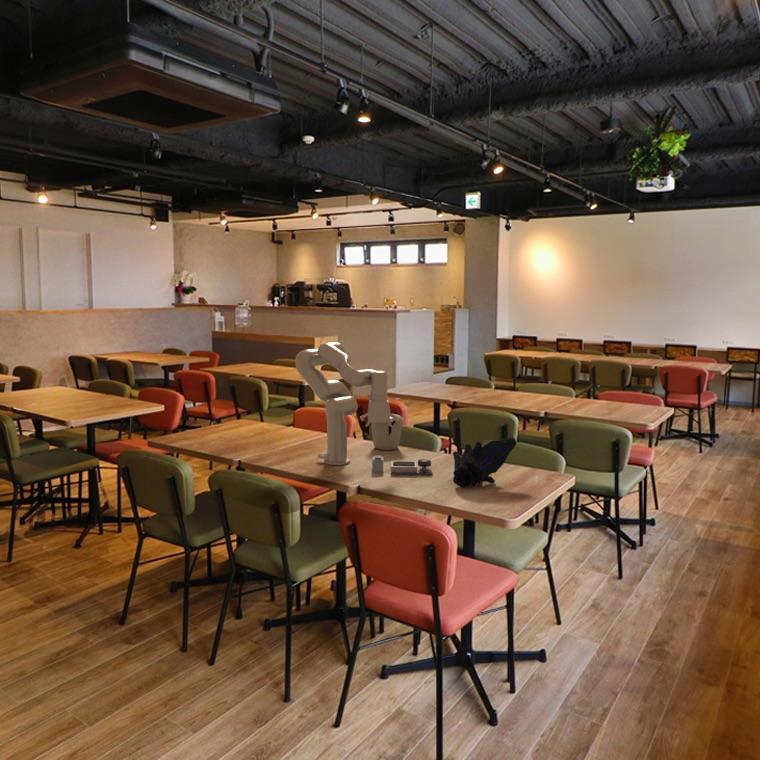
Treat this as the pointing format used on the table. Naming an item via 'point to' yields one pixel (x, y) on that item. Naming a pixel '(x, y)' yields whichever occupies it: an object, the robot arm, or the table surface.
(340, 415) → the robot arm
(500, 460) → the decorative plant
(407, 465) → the chassis
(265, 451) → the table surface
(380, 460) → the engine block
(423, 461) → the wheel
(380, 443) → the canister
